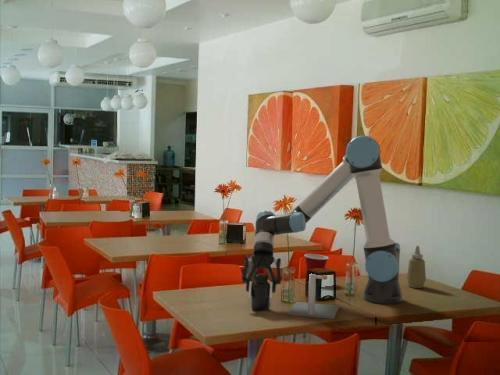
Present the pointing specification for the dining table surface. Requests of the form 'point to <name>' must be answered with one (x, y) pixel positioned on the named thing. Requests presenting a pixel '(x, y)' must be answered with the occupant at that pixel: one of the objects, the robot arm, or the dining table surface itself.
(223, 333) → the dining table surface
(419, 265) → the squeeze bottle
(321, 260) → the plastic cup
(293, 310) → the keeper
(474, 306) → the dining table surface
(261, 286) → the supplement bottle
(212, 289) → the dining table surface
